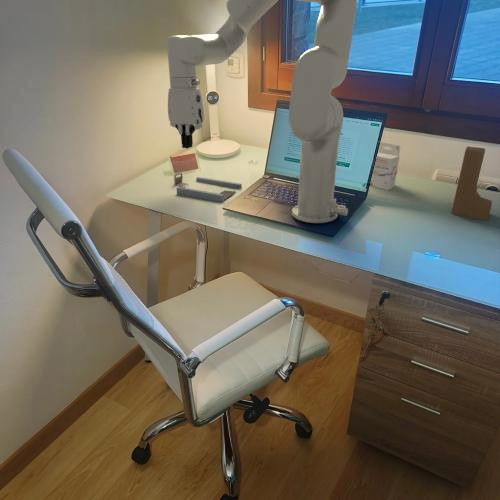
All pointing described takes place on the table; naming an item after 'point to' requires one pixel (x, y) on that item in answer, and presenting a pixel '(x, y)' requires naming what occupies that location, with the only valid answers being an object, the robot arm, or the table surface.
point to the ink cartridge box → (385, 166)
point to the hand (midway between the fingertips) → (187, 147)
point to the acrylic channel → (210, 195)
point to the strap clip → (179, 180)
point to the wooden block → (471, 187)
